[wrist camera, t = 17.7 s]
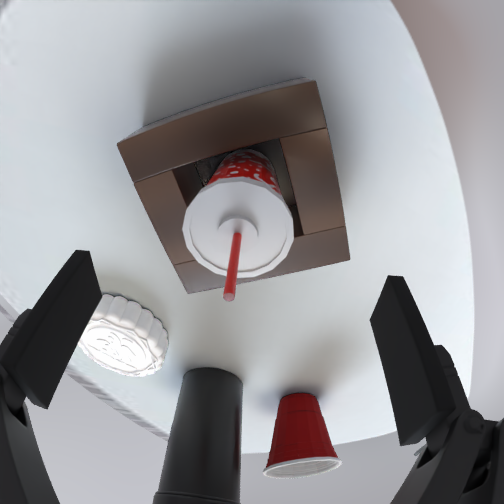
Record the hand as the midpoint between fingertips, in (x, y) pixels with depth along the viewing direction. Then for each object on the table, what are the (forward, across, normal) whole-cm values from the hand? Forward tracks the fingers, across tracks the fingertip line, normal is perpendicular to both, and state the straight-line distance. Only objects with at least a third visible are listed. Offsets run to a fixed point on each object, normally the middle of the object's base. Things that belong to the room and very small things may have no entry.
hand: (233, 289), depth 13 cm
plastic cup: (+14, +10, -34) cm, 38 cm away
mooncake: (+14, -14, -20) cm, 28 cm away
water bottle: (+14, -4, -30) cm, 33 cm away
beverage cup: (+14, 0, 0) cm, 14 cm away
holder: (+14, 0, 0) cm, 14 cm away
